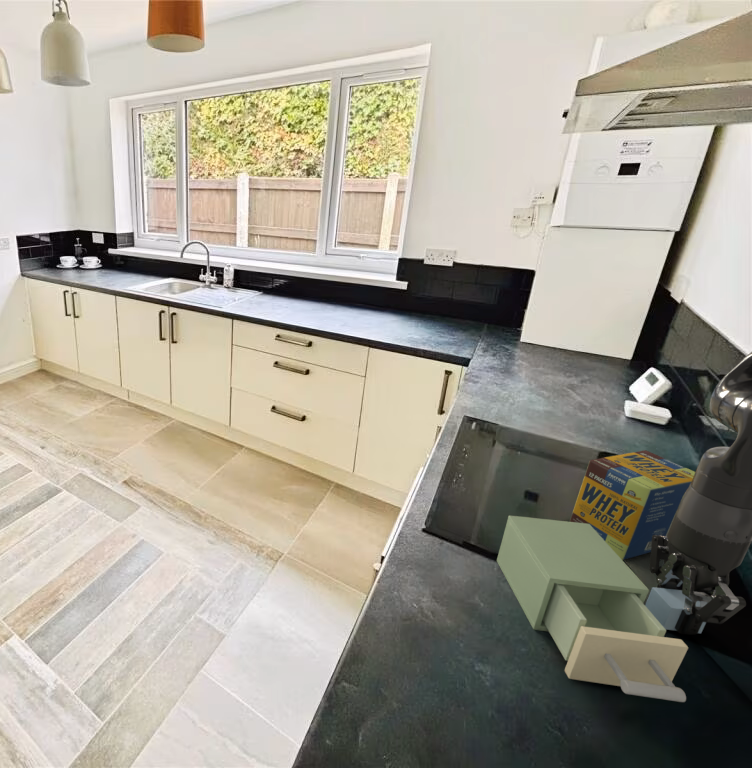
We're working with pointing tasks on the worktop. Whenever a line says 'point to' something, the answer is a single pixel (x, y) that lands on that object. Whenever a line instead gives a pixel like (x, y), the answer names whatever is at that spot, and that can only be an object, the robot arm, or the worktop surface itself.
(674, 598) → the block
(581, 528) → the cabinet
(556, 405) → the worktop surface
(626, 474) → the protein box
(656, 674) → the drawer
